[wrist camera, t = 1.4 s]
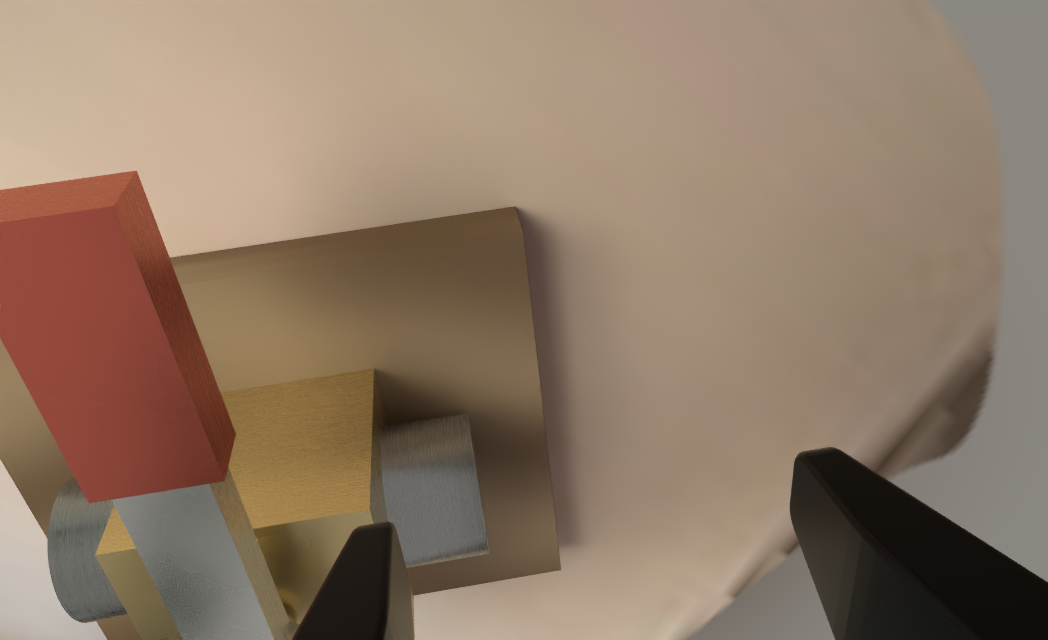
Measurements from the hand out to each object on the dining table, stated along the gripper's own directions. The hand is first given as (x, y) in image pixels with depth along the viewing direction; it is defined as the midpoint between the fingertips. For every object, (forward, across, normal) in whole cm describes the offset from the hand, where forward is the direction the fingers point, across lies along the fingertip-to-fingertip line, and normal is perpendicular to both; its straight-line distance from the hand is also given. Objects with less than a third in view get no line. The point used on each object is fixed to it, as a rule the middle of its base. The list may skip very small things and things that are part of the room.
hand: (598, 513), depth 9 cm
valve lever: (+6, +7, +4) cm, 9 cm away
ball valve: (+11, +7, +9) cm, 16 cm away
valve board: (+13, +7, +8) cm, 17 cm away
